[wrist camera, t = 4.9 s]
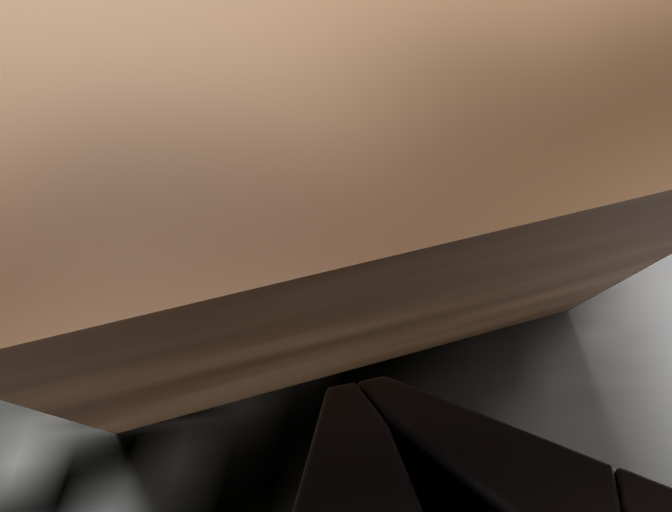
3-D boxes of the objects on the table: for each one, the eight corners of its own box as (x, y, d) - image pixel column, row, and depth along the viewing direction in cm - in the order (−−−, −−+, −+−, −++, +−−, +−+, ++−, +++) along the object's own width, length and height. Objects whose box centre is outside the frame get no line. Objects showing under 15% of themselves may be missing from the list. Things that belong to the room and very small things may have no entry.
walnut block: (565, 311, 17) (876, 141, 8) (117, 434, 14) (-96, 371, 6) (406, -68, 21) (503, -438, 12) (43, -23, 18) (-142, -441, 10)
